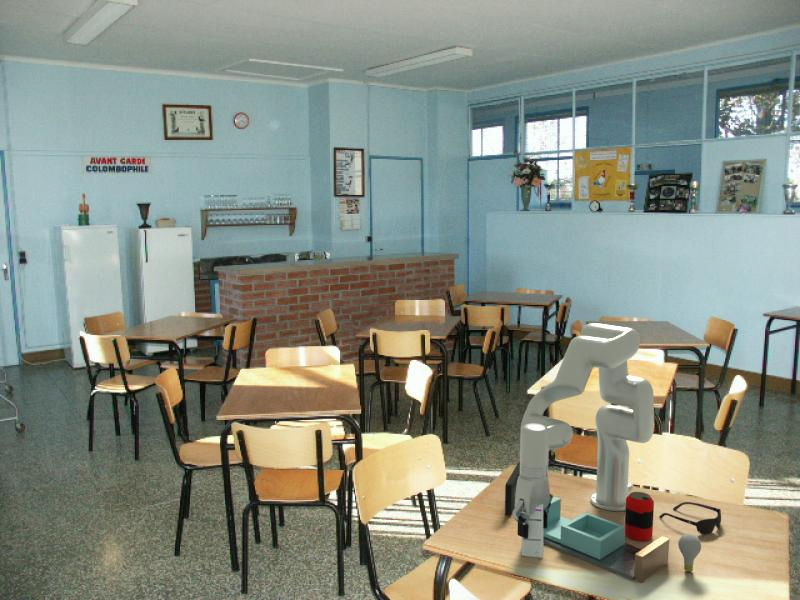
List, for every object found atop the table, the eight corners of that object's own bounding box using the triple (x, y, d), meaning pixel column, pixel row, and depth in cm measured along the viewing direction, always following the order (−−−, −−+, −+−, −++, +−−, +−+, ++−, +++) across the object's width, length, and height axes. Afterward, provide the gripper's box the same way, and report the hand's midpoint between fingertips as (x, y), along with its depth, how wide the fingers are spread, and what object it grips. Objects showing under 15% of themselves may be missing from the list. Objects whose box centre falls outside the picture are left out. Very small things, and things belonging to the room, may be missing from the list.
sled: (556, 518, 215) (557, 495, 214) (624, 544, 199) (625, 519, 198) (531, 531, 207) (532, 507, 206) (600, 559, 191) (600, 534, 190)
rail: (556, 519, 217) (557, 497, 216) (668, 563, 191) (670, 538, 190) (525, 535, 207) (526, 512, 206) (640, 583, 181) (641, 557, 180)
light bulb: (673, 566, 189) (675, 530, 188) (693, 565, 190) (695, 529, 188) (683, 577, 184) (685, 540, 183) (703, 576, 185) (705, 539, 183)
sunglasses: (705, 539, 205) (706, 522, 204) (653, 521, 217) (654, 505, 216) (726, 525, 214) (727, 509, 213) (676, 508, 226) (677, 493, 225)
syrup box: (543, 558, 194) (544, 507, 192) (520, 556, 195) (521, 505, 193) (543, 548, 200) (544, 498, 198) (521, 546, 201) (522, 496, 199)
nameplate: (510, 516, 220) (511, 485, 218) (504, 515, 220) (505, 484, 219) (524, 490, 239) (524, 461, 238) (518, 489, 240) (519, 460, 238)
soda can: (638, 544, 202) (640, 503, 200) (618, 533, 208) (620, 493, 207) (658, 538, 205) (660, 498, 203) (638, 527, 212) (639, 488, 210)
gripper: (541, 458, 203) (540, 517, 205) (502, 474, 191) (501, 537, 193) (564, 465, 197) (562, 526, 200) (525, 482, 185) (523, 547, 188)
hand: (532, 531), depth 197 cm, fingers closed on syrup box, 7 cm apart
